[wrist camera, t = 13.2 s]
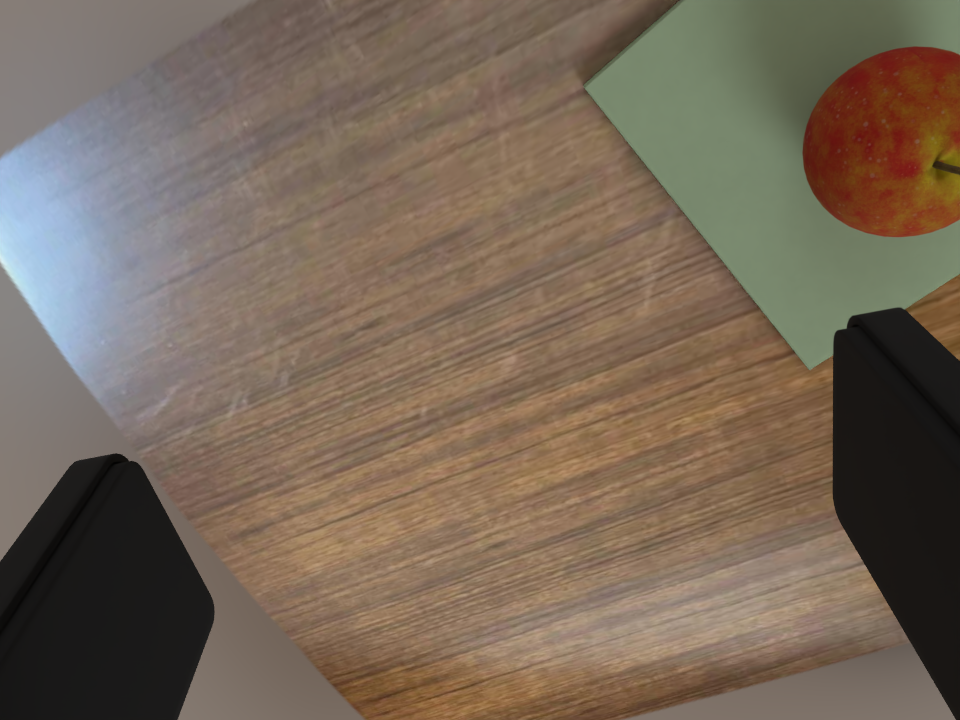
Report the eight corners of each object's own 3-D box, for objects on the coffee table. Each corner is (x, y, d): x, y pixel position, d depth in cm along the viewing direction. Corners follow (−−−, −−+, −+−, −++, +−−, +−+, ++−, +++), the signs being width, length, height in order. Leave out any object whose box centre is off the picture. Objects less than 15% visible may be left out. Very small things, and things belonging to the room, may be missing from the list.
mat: (582, 85, 33) (584, 88, 33) (939, -229, 28) (948, -231, 27) (805, 364, 40) (809, 370, 39) (1132, 153, 34) (1142, 157, 34)
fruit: (780, 216, 35) (849, 289, 28) (778, 54, 32) (855, 92, 25) (943, 187, 35) (1056, 256, 28) (958, 18, 31) (1090, 47, 24)
